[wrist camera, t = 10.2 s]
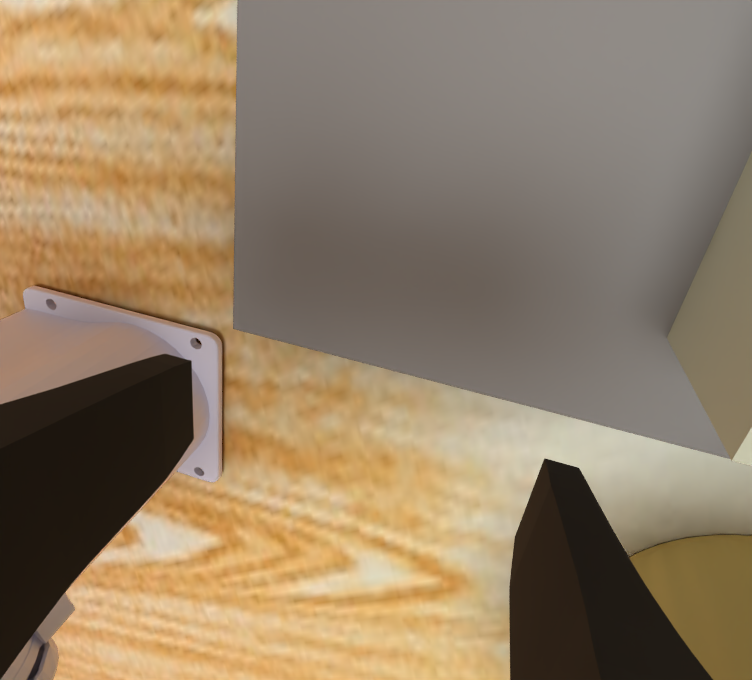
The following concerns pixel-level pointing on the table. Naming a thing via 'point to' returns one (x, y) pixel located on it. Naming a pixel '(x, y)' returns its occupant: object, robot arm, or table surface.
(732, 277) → the pale green block
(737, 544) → the potted cactus
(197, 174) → the table surface
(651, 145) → the mounting board
